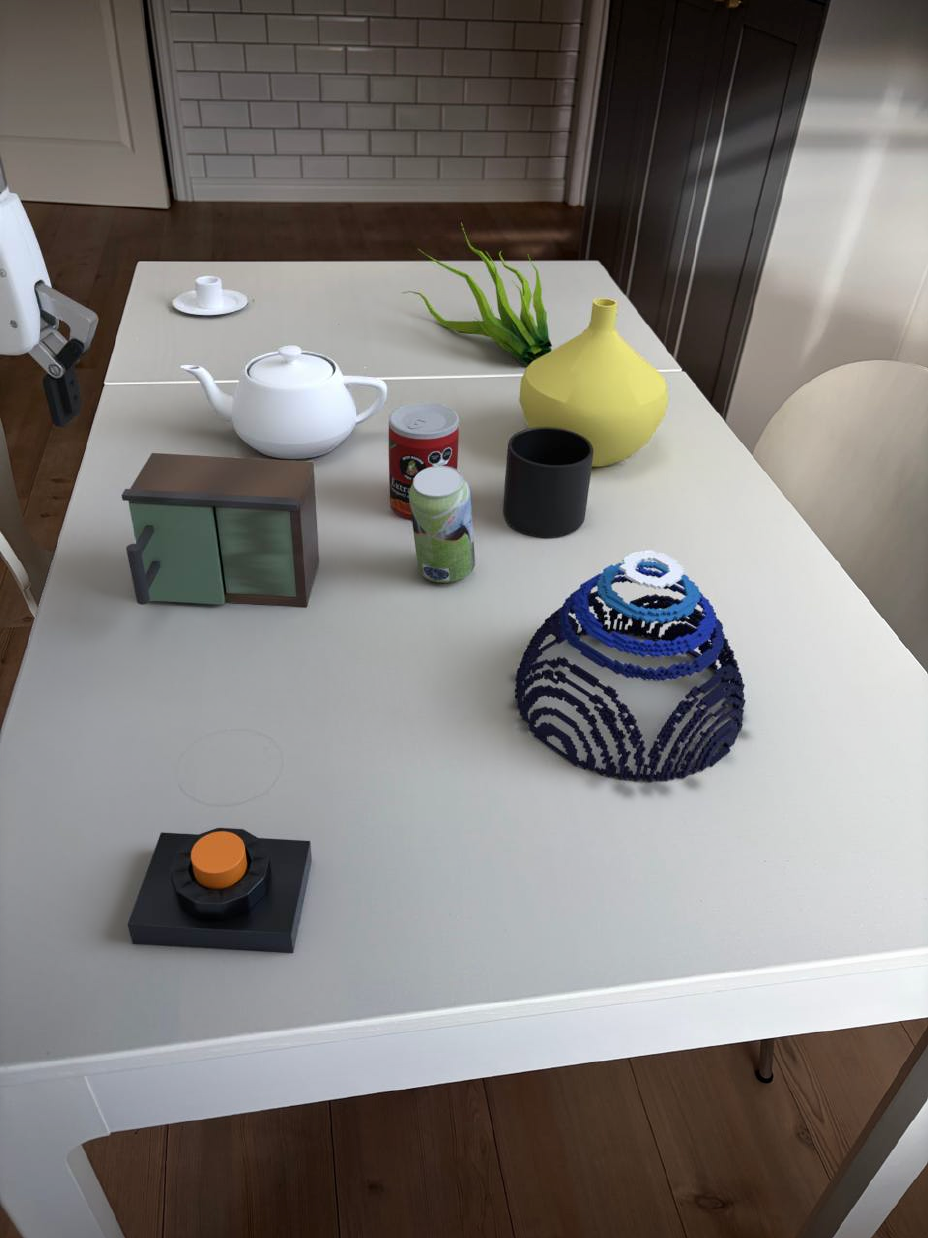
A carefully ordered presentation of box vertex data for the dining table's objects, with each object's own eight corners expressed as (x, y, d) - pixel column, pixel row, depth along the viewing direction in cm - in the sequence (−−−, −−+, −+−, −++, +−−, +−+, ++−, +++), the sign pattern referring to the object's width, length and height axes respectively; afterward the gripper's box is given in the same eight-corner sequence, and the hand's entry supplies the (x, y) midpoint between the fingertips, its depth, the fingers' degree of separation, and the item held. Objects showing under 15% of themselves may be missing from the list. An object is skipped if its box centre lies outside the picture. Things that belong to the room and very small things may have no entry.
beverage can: (484, 567, 105) (491, 467, 98) (448, 601, 100) (452, 499, 93) (434, 549, 108) (437, 450, 100) (397, 581, 103) (396, 479, 95)
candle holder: (174, 293, 166) (171, 267, 163) (247, 292, 168) (245, 266, 165) (171, 320, 156) (167, 293, 154) (248, 318, 158) (246, 291, 156)
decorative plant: (505, 300, 170) (511, 210, 161) (553, 370, 147) (564, 270, 138) (401, 303, 166) (402, 212, 158) (434, 375, 143) (437, 273, 135)
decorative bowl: (784, 705, 90) (826, 574, 81) (650, 819, 78) (682, 682, 69) (612, 605, 101) (632, 481, 92) (472, 692, 89) (480, 560, 80)
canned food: (379, 514, 113) (378, 426, 106) (403, 482, 119) (403, 397, 112) (443, 527, 111) (446, 439, 104) (464, 493, 117) (468, 408, 111)
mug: (579, 486, 120) (588, 418, 114) (587, 540, 110) (597, 468, 105) (501, 483, 120) (506, 414, 114) (503, 537, 110) (508, 464, 105)
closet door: (130, 633, 93) (109, 534, 86) (148, 596, 98) (130, 499, 91) (210, 638, 93) (196, 539, 86) (225, 601, 98) (212, 504, 91)
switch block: (132, 944, 67) (122, 908, 65) (164, 851, 74) (157, 815, 71) (293, 954, 67) (289, 918, 65) (312, 860, 74) (309, 824, 71)
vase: (669, 486, 121) (698, 334, 109) (519, 481, 120) (532, 328, 108) (646, 419, 135) (669, 279, 124) (512, 414, 135) (523, 273, 123)
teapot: (389, 414, 133) (388, 326, 126) (386, 471, 121) (385, 377, 113) (200, 411, 132) (188, 321, 124) (178, 468, 119) (164, 372, 112)
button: (187, 888, 67) (184, 871, 66) (201, 846, 70) (198, 829, 69) (241, 891, 67) (238, 874, 66) (252, 849, 70) (249, 832, 69)
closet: (142, 606, 97) (121, 494, 90) (168, 553, 105) (150, 446, 97) (304, 615, 97) (296, 504, 90) (319, 562, 105) (313, 455, 97)
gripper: (-216, 179, 63) (-126, 422, 74) (37, 200, 61) (92, 447, 72) (-140, 152, 69) (-68, 381, 80) (93, 170, 67) (136, 402, 78)
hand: (8, 412), depth 76 cm, fingers open, 9 cm apart
